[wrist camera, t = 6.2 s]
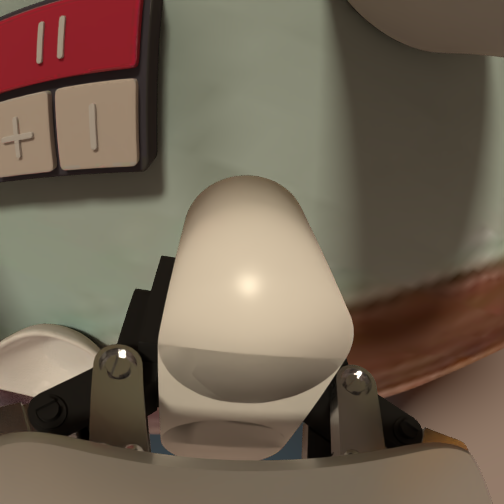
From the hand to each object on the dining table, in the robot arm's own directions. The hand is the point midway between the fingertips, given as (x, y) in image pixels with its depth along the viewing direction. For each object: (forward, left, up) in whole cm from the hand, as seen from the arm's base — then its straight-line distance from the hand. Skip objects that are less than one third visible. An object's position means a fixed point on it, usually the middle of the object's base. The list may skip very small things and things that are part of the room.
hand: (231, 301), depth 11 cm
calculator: (-6, -13, -10) cm, 18 cm away
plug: (0, 0, 0) cm, 0 cm away
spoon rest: (+19, -20, -10) cm, 29 cm away
